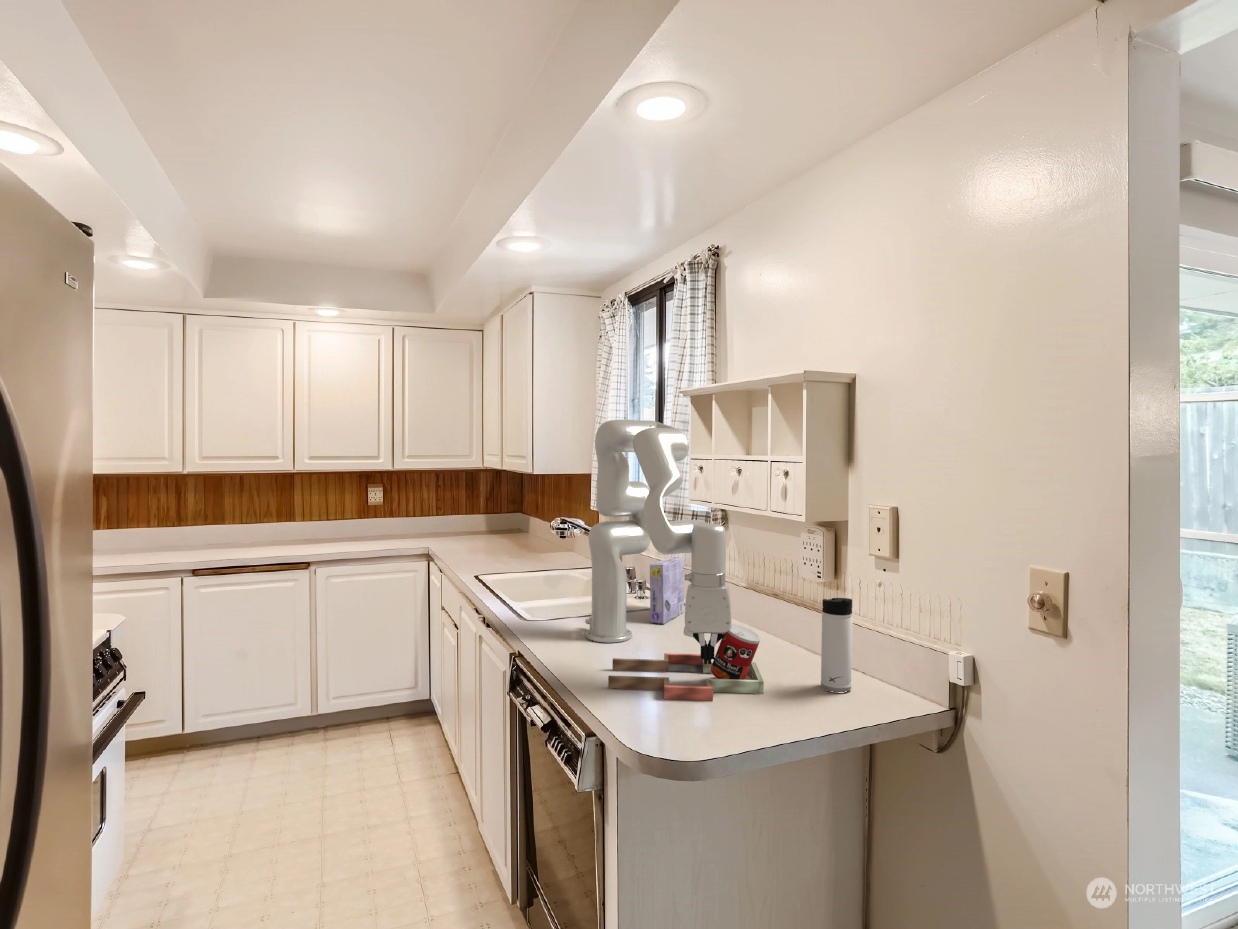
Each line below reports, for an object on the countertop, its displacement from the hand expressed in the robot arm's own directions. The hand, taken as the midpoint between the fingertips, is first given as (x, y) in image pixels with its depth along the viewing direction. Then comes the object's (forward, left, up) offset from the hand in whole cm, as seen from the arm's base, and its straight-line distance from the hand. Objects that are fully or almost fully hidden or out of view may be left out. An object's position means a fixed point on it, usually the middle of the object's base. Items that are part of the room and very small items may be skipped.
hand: (707, 662), depth 150 cm
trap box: (-4, -4, -4) cm, 7 cm away
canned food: (+3, +3, -3) cm, 5 cm away
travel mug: (+21, +18, -5) cm, 28 cm away
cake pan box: (-46, +34, -5) cm, 58 cm away
